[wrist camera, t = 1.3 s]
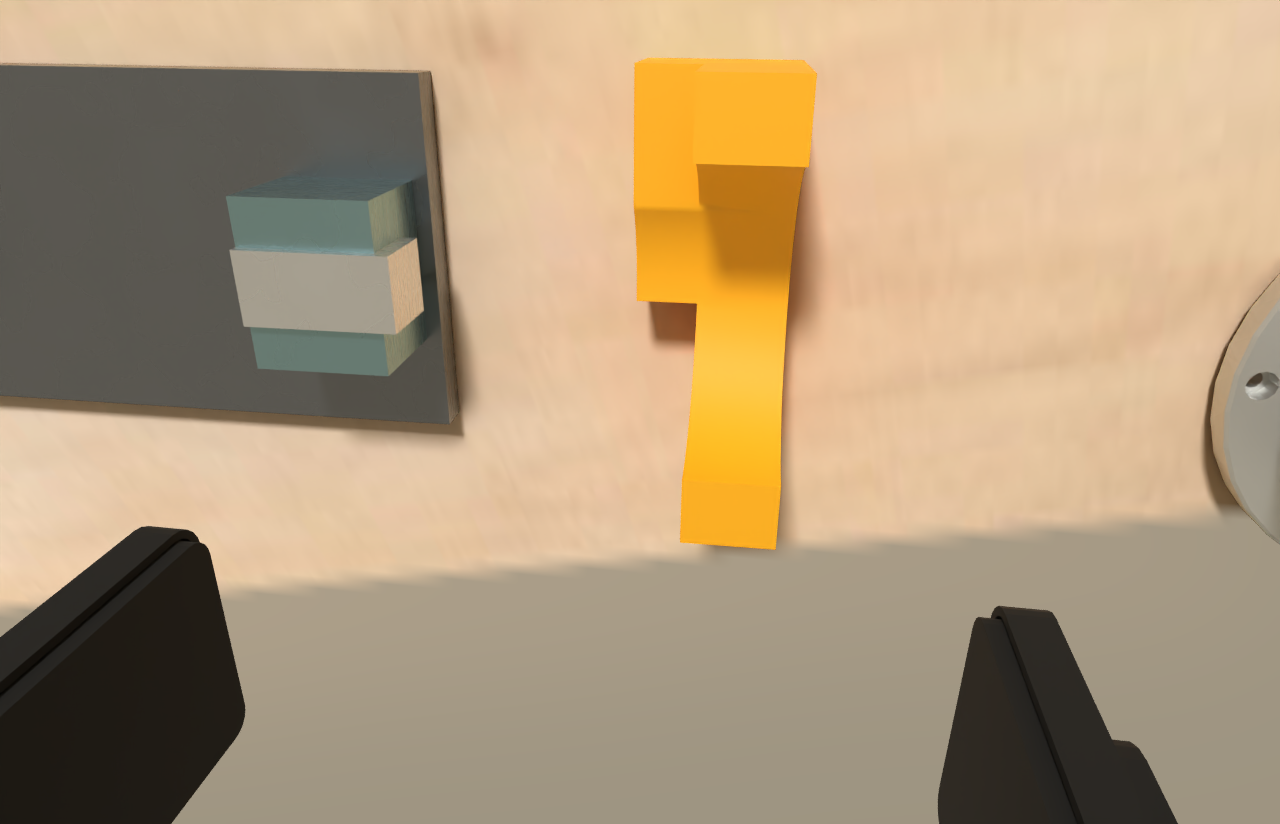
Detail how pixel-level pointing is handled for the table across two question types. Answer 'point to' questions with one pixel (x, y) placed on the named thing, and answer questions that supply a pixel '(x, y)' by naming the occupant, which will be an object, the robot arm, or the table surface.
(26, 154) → the workpiece vise
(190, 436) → the table surface
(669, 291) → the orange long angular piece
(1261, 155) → the table surface
